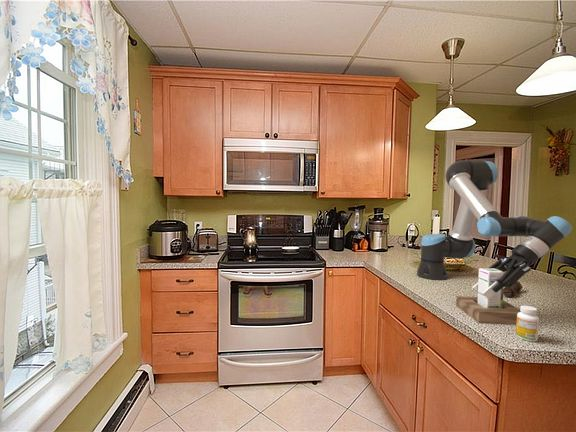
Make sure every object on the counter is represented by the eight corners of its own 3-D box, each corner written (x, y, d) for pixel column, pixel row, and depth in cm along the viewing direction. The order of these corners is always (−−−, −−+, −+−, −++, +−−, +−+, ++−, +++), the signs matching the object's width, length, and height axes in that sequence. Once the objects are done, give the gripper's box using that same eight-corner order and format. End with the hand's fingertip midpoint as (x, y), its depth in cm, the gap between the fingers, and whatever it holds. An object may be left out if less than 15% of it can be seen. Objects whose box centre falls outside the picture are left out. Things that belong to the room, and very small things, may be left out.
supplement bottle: (522, 332, 95) (523, 303, 94) (541, 340, 90) (543, 309, 89) (511, 335, 93) (513, 305, 92) (531, 343, 88) (533, 312, 87)
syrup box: (486, 310, 106) (489, 271, 105) (476, 304, 112) (478, 267, 111) (502, 310, 106) (505, 271, 105) (491, 304, 112) (493, 267, 111)
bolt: (504, 301, 129) (512, 293, 139) (516, 298, 126) (524, 290, 135) (497, 288, 131) (505, 281, 141) (509, 285, 127) (517, 278, 137)
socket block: (456, 305, 118) (456, 296, 118) (497, 307, 117) (498, 297, 116) (478, 322, 102) (479, 311, 102) (526, 324, 101) (527, 313, 100)
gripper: (504, 240, 116) (460, 278, 119) (542, 248, 97) (487, 294, 100) (518, 253, 116) (473, 292, 118) (557, 264, 97) (503, 309, 100)
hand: (479, 292), depth 109 cm, fingers closed on syrup box, 6 cm apart
